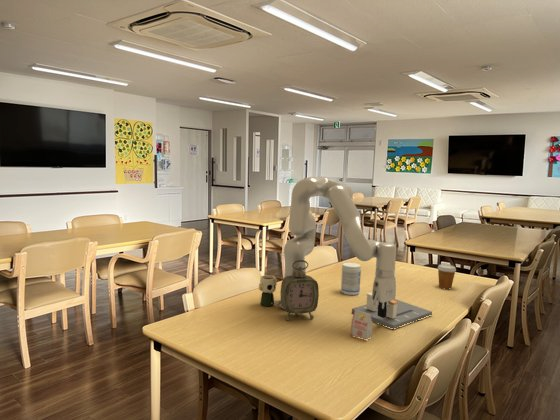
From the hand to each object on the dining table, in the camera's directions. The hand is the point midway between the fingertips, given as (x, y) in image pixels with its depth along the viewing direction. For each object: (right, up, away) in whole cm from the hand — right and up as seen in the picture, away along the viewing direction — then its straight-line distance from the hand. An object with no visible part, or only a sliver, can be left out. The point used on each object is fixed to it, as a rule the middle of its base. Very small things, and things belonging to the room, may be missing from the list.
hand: (381, 316), depth 167 cm
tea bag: (-11, -5, -12) cm, 17 cm away
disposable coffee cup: (+49, +1, +57) cm, 75 cm away
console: (+8, -3, +13) cm, 15 cm away
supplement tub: (-6, +1, +41) cm, 42 cm away
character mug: (-48, 0, +19) cm, 51 cm away
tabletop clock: (-34, -2, +5) cm, 35 cm away
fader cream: (-2, 0, +12) cm, 12 cm away
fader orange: (+5, -1, +4) cm, 6 cm away
